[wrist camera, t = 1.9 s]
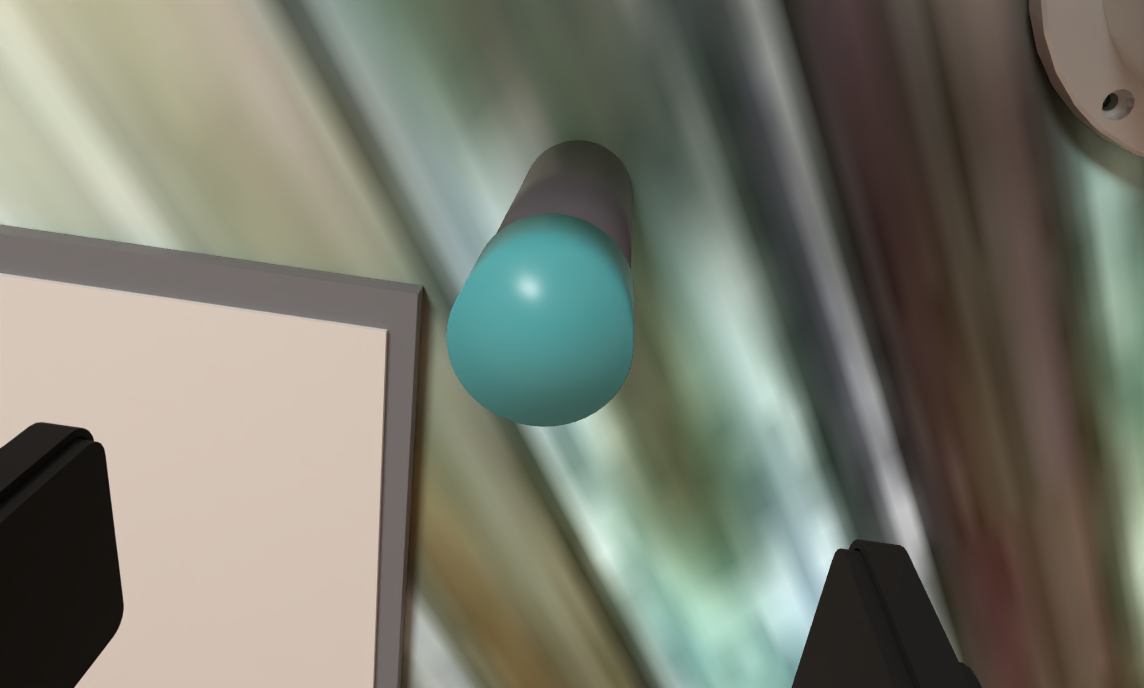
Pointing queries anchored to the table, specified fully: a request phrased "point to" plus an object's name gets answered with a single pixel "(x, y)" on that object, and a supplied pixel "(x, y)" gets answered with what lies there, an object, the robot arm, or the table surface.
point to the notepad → (228, 452)
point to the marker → (552, 294)
